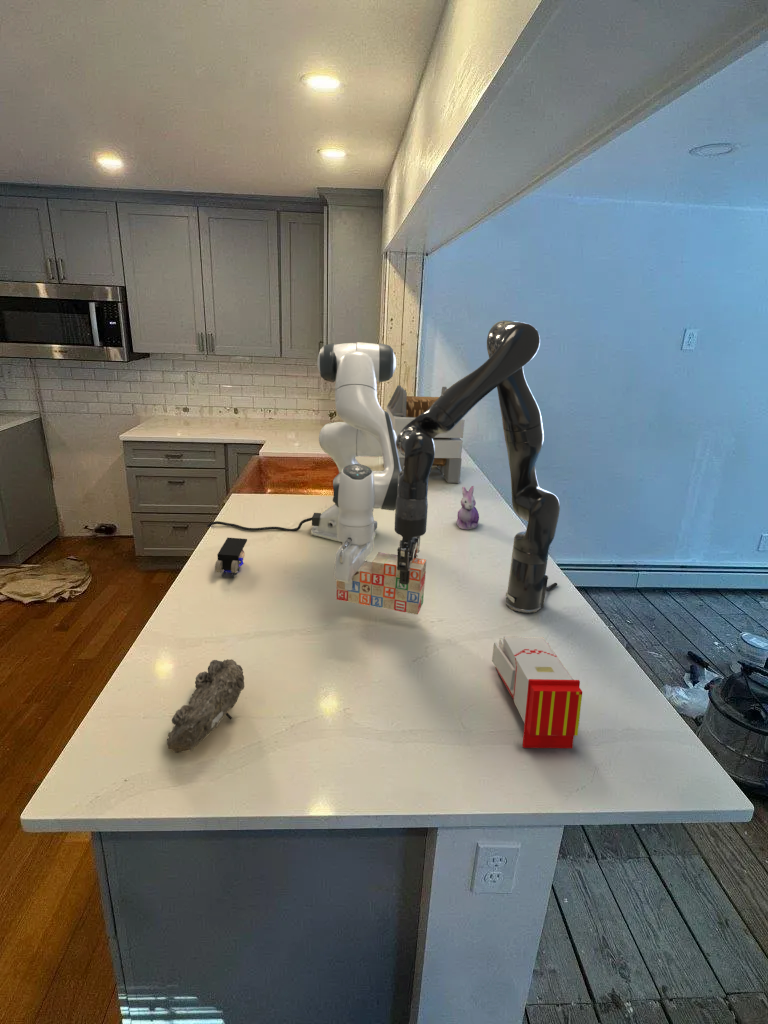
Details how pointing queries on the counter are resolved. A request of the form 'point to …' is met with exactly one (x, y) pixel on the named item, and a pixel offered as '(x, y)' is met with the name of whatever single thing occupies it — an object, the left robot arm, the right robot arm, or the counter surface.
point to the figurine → (468, 510)
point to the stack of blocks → (386, 585)
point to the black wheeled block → (230, 556)
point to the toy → (539, 691)
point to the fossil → (206, 705)
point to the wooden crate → (446, 444)
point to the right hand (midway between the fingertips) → (407, 577)
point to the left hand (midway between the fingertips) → (354, 582)
